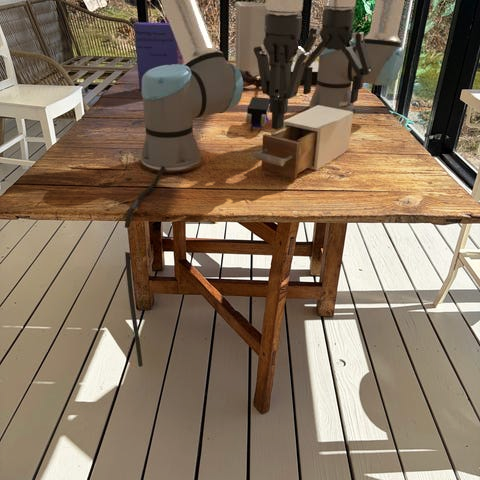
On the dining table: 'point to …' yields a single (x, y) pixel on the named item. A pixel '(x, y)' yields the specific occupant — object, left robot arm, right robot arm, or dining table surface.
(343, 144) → the cabinet
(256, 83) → the figurine
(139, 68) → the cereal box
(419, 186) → the dining table surface
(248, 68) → the tall white carton
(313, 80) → the disc drive
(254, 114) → the figurine character
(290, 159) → the drawer
